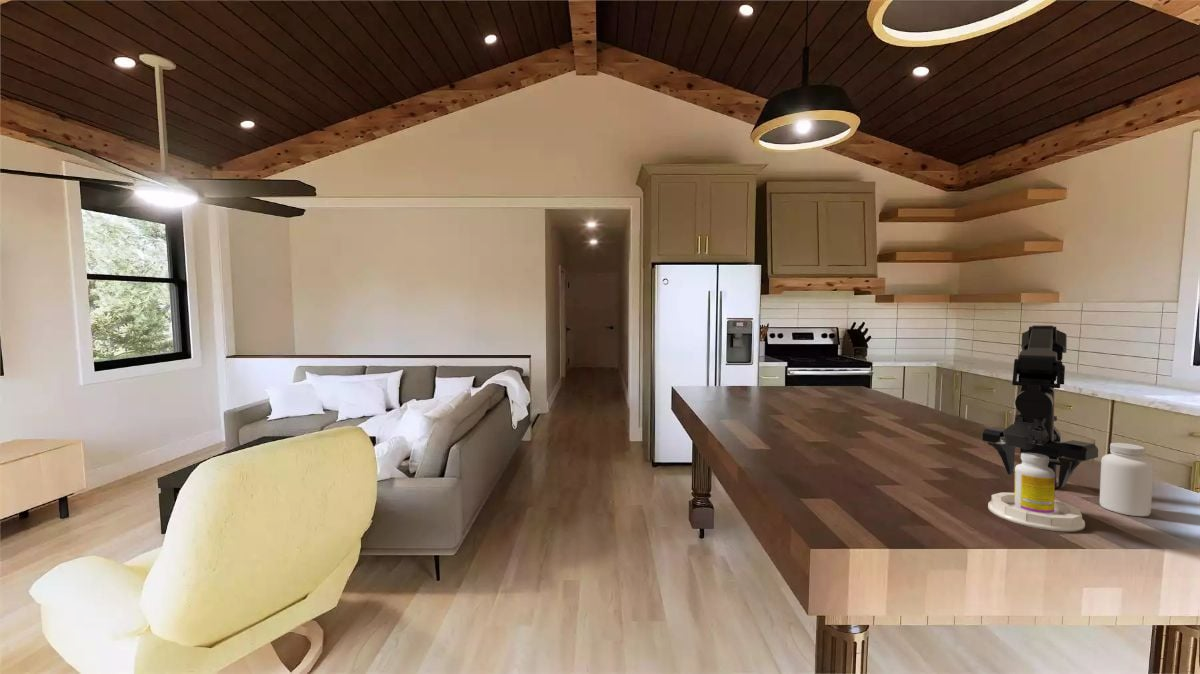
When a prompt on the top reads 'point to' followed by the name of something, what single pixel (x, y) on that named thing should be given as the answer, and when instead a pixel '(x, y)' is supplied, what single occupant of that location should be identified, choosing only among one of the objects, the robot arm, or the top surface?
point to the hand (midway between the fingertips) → (1034, 480)
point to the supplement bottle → (1034, 484)
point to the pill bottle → (1126, 480)
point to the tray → (1037, 514)
